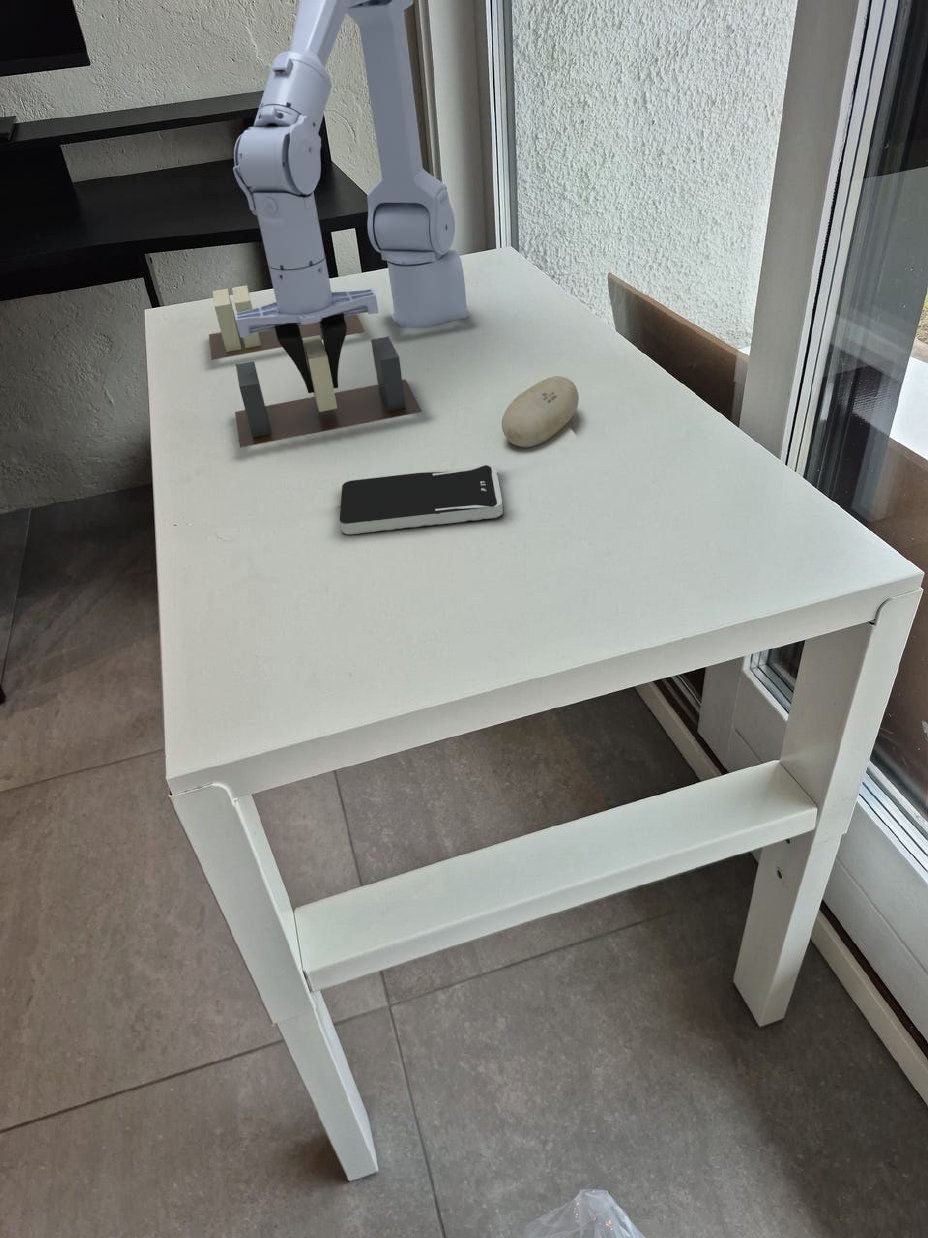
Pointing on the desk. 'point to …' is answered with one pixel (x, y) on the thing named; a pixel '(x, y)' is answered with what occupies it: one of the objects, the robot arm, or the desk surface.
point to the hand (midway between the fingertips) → (322, 386)
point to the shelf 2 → (324, 414)
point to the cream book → (319, 373)
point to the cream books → (233, 317)
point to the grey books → (385, 372)
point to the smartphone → (420, 499)
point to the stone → (540, 412)
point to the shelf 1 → (271, 341)
